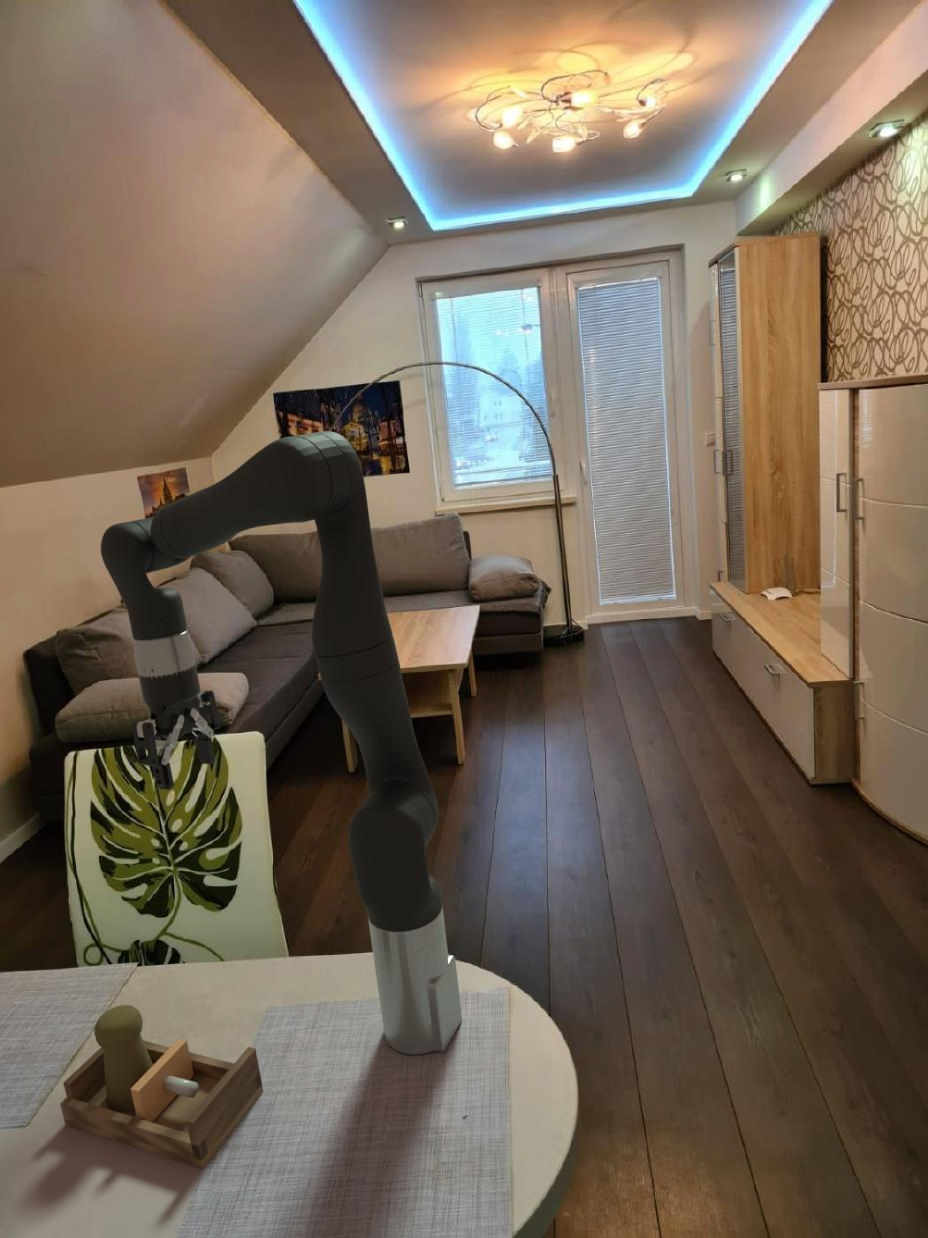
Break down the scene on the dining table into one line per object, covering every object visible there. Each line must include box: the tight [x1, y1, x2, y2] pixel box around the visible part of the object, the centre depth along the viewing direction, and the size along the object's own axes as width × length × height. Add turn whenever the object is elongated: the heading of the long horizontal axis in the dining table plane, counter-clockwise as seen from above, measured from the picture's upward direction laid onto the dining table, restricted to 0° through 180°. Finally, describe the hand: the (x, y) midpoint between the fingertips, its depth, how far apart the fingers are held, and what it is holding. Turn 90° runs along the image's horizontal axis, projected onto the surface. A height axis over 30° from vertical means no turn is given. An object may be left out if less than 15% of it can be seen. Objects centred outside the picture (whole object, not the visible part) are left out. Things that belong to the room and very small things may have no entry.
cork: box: [94, 1004, 153, 1113], centre depth 99 cm, size 6×6×11 cm
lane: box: [59, 1040, 264, 1169], centre depth 98 cm, size 20×11×6 cm, turn 68°
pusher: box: [131, 1038, 198, 1122], centre depth 97 cm, size 5×8×5 cm, turn 158°
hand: (187, 775), depth 118 cm, fingers open, 8 cm apart
